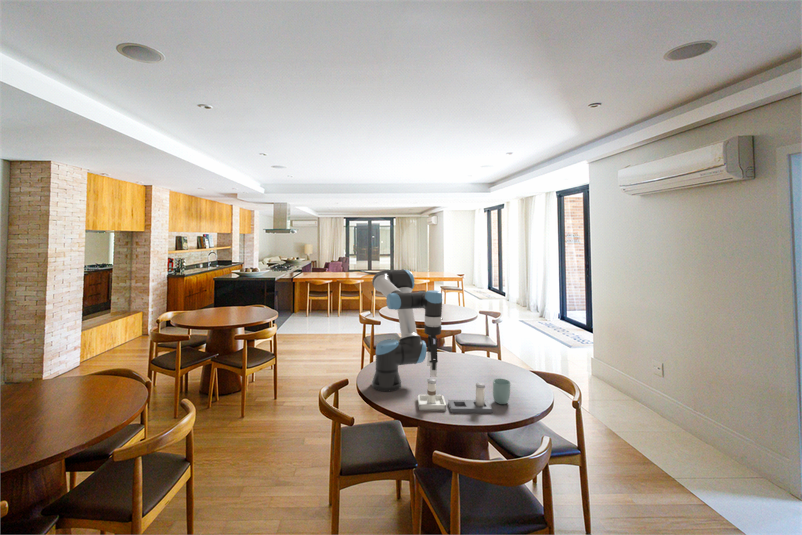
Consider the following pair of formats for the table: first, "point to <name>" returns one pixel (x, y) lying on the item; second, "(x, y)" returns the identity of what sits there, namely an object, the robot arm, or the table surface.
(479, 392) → the cylinder
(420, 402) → the tray
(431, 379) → the cylinder
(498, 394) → the cup
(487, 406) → the holder
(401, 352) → the robot arm
